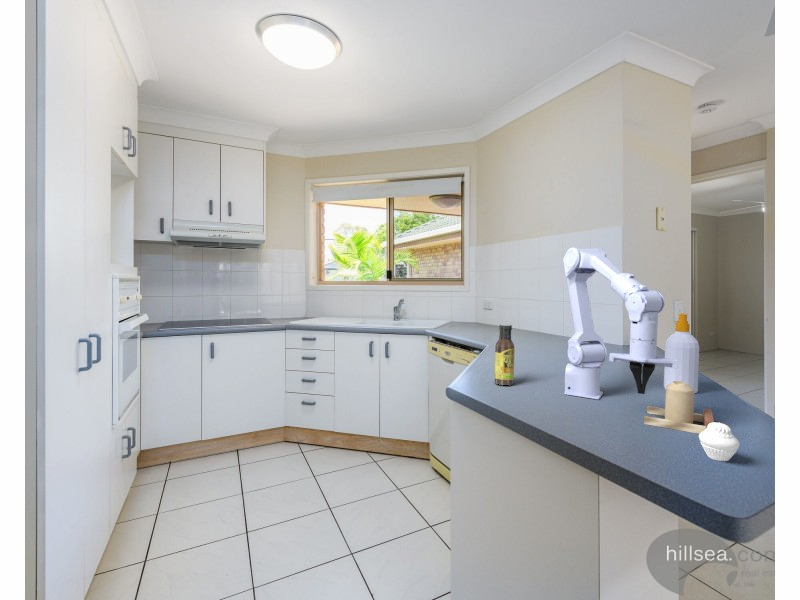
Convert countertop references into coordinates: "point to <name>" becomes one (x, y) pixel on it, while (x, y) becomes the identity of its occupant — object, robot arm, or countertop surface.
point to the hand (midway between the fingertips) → (641, 392)
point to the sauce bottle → (504, 357)
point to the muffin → (718, 441)
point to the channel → (676, 425)
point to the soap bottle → (682, 355)
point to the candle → (679, 402)
